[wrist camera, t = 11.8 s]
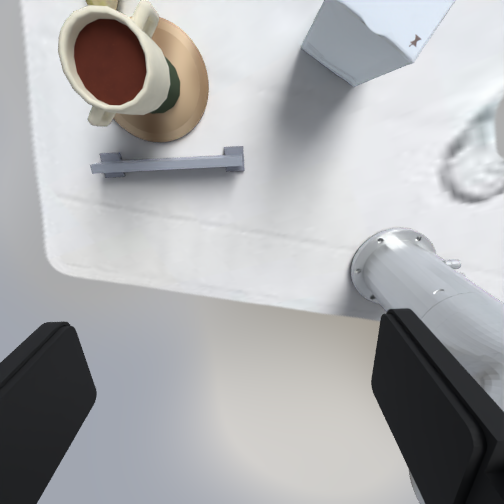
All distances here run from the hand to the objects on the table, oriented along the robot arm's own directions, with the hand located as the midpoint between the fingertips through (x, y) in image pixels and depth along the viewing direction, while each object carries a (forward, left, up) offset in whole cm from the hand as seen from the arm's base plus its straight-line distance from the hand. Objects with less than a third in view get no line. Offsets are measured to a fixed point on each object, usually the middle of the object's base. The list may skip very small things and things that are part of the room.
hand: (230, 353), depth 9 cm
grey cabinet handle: (+9, -3, -33) cm, 34 cm away
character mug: (+10, -12, -32) cm, 36 cm away
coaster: (+10, -12, -33) cm, 36 cm away
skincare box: (-12, -15, -33) cm, 38 cm away
